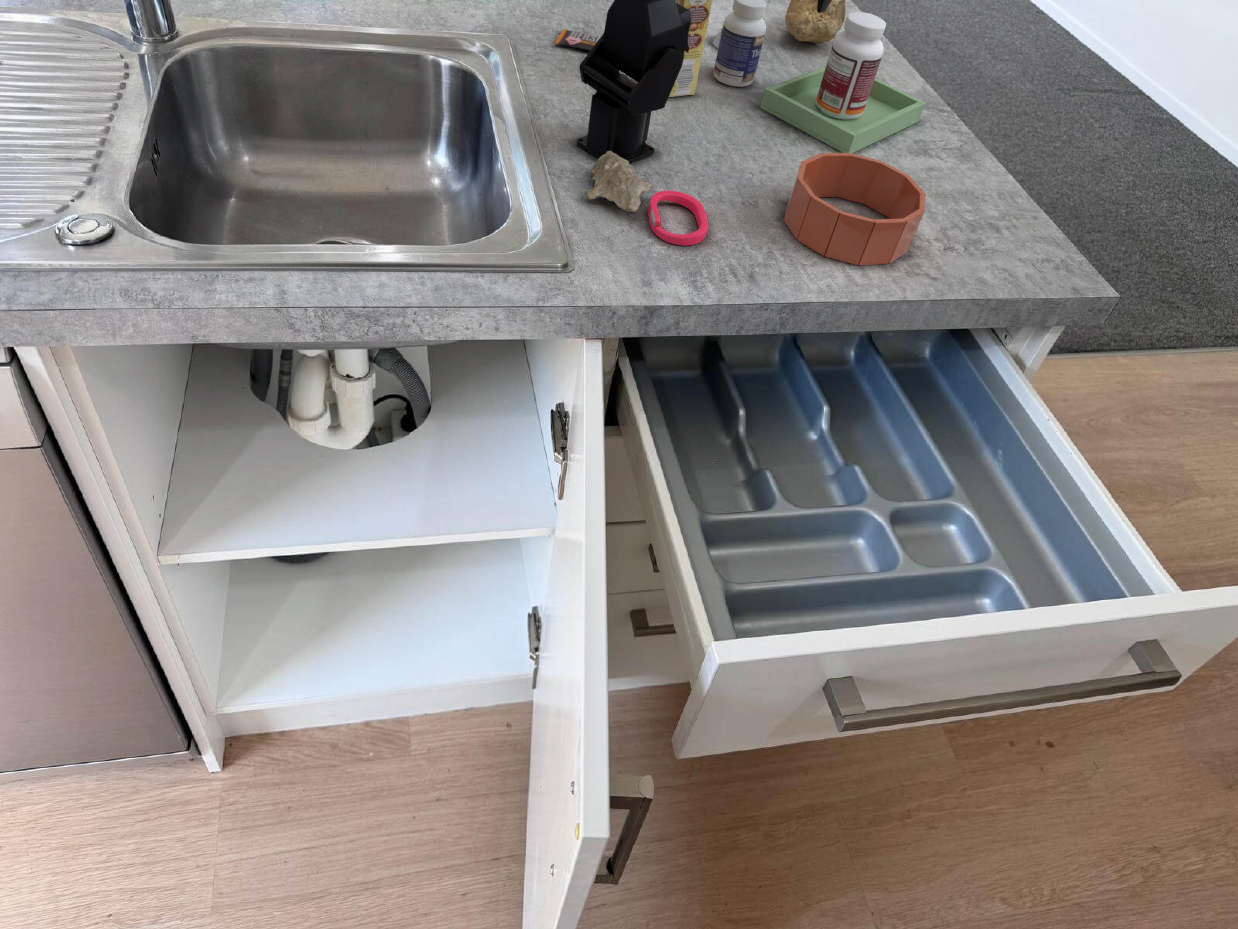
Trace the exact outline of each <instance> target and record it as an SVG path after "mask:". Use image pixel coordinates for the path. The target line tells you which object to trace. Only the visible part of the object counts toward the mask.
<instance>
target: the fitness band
mask: <svg viewBox="0 0 1238 929" xmlns="http://www.w3.org/2000/svg"><path fill="white" fill-rule="evenodd" d="M662 201H663V202H664V201H665V202H666V201H667V202H670V203H671V202H672V203H675V204H678V205H680V206H683V207H685V208H687V209H688V210H689V211H690V212H692V213H693V215H694V217H695V219H696V224H697V228H698V229H697V230H696V231H693V232H690V233H684V234H683V233H682V234H681V233H680V234H679V233H672V232H670V231H667V230H665V229H664V228H663V227H662V226H661V223H662V220H661V216H660V212H659V209H658V203H659V202H662ZM647 216H648V222H649V226H650V229H651V231H652V232H653V233H654V234H655V236H657V237H658V238H659V239H661V240H663V241H664V242H666V243H670V244H671V245H677V246H684V247H685V246H693V245H697V244H699V243H701V242H703V241H704V240H705V238H706V236H707V234H708V230H709V221H708V216H707V214H706V210H705V207H704V205H703V204H702V203H701V202H700V201H699V200H698V199H697V198H695V197H693V195H690V194H688V193H685V192H682V191H678V190H677V191H676V190H661V191H658V192H655V193H654V194H653V195H652V196H651V198H650V200H649V203H648V204H647Z"/></svg>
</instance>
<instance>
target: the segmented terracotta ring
mask: <svg viewBox="0 0 1238 929" xmlns="http://www.w3.org/2000/svg"><path fill="white" fill-rule="evenodd" d="M796 173H797V174H796V176H795V179H794V183H793V186H792V190H791V193H790V196H789V199H788V202H787V206H786V209H785V215H784V218H783V221H784V223H785V225H786V226H787V227H788V229H789V230H790V232H791V233H792V235H793V236H794V238H795V239H796V240H797V241H798V242H799V243H800V244H803V245H805V247H808V248H810V249H811V250H812V251H814V252H816V253H817V254H819V255H821V256H823V257H825V258H827V259H832V260H835V261H840V262H843V263H847V264H851V265H855V266H874V265H889V264H891V263H893V262H895V261H896V260H897V259H899V258H900V257H902V256H904V255H905V254H906V253H908V250H909V248H910V246H911V244H912V242H913V239H914V238H915V234H916V233H917V231H918V228H919V225H920V223H921V220H922V218H923V216H924V214H925V212H926V197H927V196H926V195H927V194H926V193H925V191H924V190H923V189H922V188H921V186H919V184H918V183H917V182H916V181H915V180H914V179H913V178H912V177H911V176H910V175H909V174H908V173H905V172H903V171H902V170H900V169H898V168H896V167H894V166H893V165H890V164H889V163H887V162H885V161H882V160H880V159H876V158H873V157H868V156H864V155H861V154H856V153H842V152H821V153H820V152H819V153H817V154H815V155H813V156H810V157H808V158H806V159H804V160H802V161H801V162H800V164H799V166H798V170H797V172H796ZM822 198H840V199H843V200H846V201H850V202H854V203H859V204H862V205H865V206H867V207H869V208H870V209H872V210H874V211H876V212H877V213H879V214H881V215H883V216H885V217H886V218H878V219H877V218H876V219H874V218H870V217H867V216H862V215H859V214H855V213H850V212H848V211H843V210H841V209H839V208H837V207H836V206H834V205H833V204H830V203H829V202H827V201H826V200H823V199H822Z"/></svg>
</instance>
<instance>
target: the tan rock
mask: <svg viewBox="0 0 1238 929" xmlns="http://www.w3.org/2000/svg"><path fill="white" fill-rule="evenodd" d="M817 5H818V0H790V1H789V4H788V7H787V8H786V12H785V15H784V21H785V25H786V30H787V31H788V33H789V34H790V35H791V36H793V38H794V39H796V40H797V41H799V42H808V43H810V44H815V45H817V44H822V43H824V42H825V43H826V42H829V41H832V40H834V39H835V37H836V36H837V34H838V32H839V31H840V30H841V28H842V26H844V23H845V20H846V0H832V1H831V3H830V4H829V6H828V7H827V9H826V10H825V11H824V12H822V13H818V12H817Z"/></svg>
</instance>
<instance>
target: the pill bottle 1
mask: <svg viewBox="0 0 1238 929" xmlns="http://www.w3.org/2000/svg"><path fill="white" fill-rule="evenodd" d="M766 8H767V1H766V0H734V1H733V4H732V12H730V13H728V14H727V15H726V16H725V18H724V20H723V25H722V28H723V29H722V34H721V39H720V43H719V48H717V53H716V58H715V63H714V67H713V76H714V78H715V79H716V81H718V82H720V83H722V84H723V85H727V86H730V87H738V88H744V87H748V86H750V85H752V84H753V82H754V79H755V76H756V72H757V68H758V65H759V61H760V56H761V53H762V49H763V44H764V40H765V36H766V32H767V23H766V21H765V19H763V17H765V13H766Z"/></svg>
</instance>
